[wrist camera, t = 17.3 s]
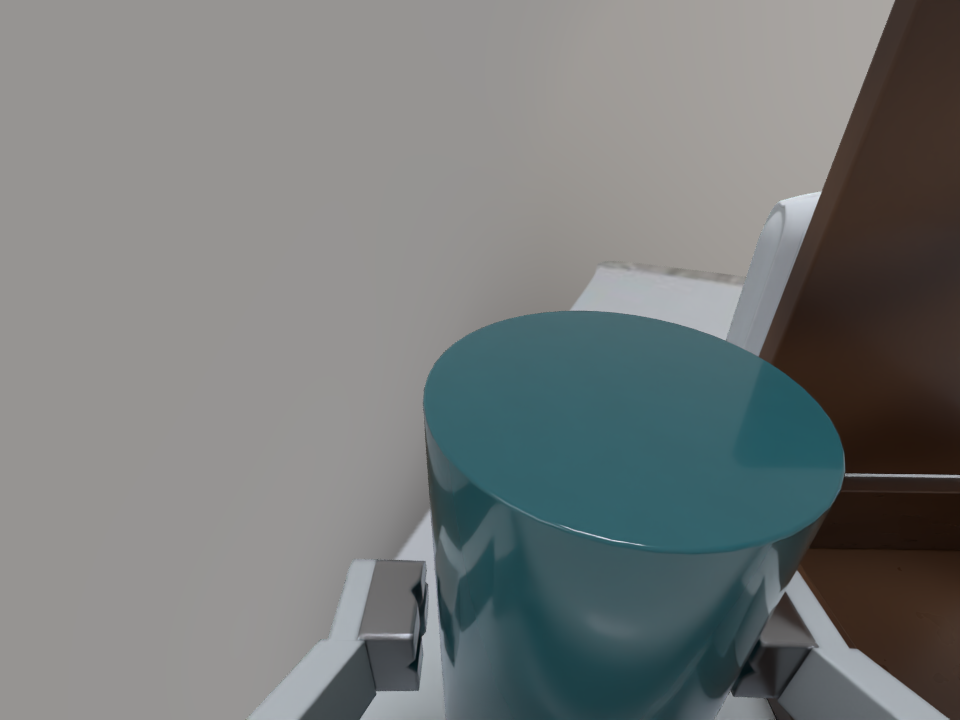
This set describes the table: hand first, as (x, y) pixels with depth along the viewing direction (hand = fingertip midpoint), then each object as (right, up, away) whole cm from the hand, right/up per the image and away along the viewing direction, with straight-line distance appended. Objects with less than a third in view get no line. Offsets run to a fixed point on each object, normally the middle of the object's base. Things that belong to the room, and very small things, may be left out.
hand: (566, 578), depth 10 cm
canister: (0, -7, +3) cm, 8 cm away
